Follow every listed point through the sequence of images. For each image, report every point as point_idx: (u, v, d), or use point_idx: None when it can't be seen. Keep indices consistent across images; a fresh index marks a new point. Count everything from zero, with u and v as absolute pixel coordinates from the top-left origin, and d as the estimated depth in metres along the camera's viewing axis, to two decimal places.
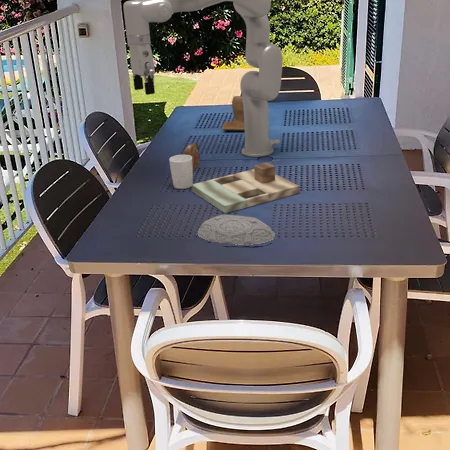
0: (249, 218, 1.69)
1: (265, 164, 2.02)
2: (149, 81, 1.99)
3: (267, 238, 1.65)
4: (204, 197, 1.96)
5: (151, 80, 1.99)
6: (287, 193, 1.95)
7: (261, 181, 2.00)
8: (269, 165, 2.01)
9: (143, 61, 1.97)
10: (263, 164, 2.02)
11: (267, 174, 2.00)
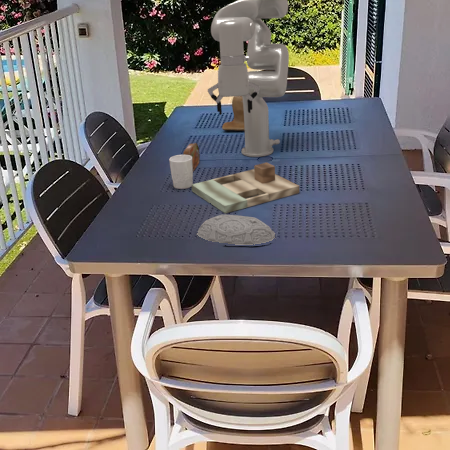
0: (249, 218, 1.69)
1: (265, 164, 2.02)
2: (253, 98, 1.99)
3: (267, 238, 1.65)
4: (204, 197, 1.96)
5: None
6: (287, 193, 1.95)
7: (261, 181, 2.00)
8: (269, 165, 2.01)
9: (248, 79, 1.96)
10: (263, 164, 2.02)
11: (267, 174, 2.00)
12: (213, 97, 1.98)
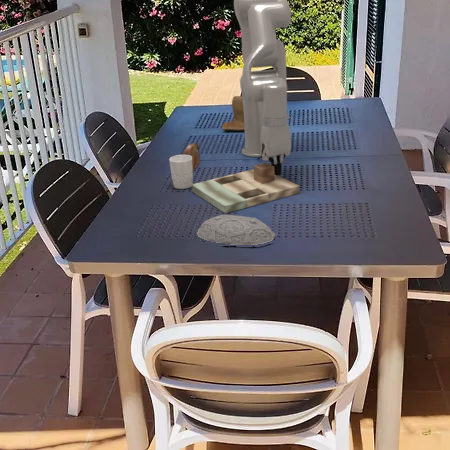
0: (249, 218, 1.69)
1: (264, 164, 2.02)
2: None
3: (267, 238, 1.65)
4: (204, 197, 1.96)
5: None
6: (287, 193, 1.95)
7: (260, 181, 2.00)
8: (268, 165, 2.01)
9: None
10: (262, 164, 2.02)
11: (267, 174, 1.99)
12: (271, 159, 2.00)
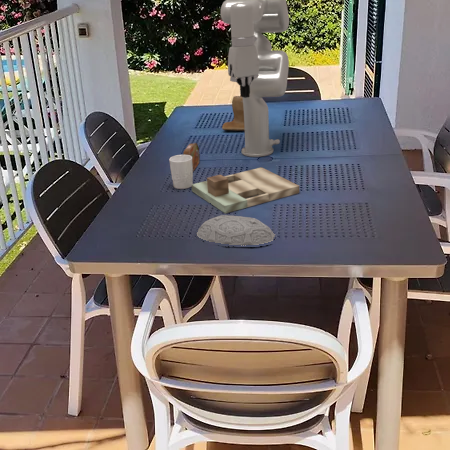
0: (249, 219, 1.69)
1: (218, 176, 1.94)
2: None
3: (267, 239, 1.65)
4: (204, 197, 1.96)
5: None
6: (287, 193, 1.95)
7: (214, 194, 1.92)
8: (222, 177, 1.93)
9: None
10: (216, 176, 1.94)
11: (220, 187, 1.91)
12: (239, 81, 2.04)
